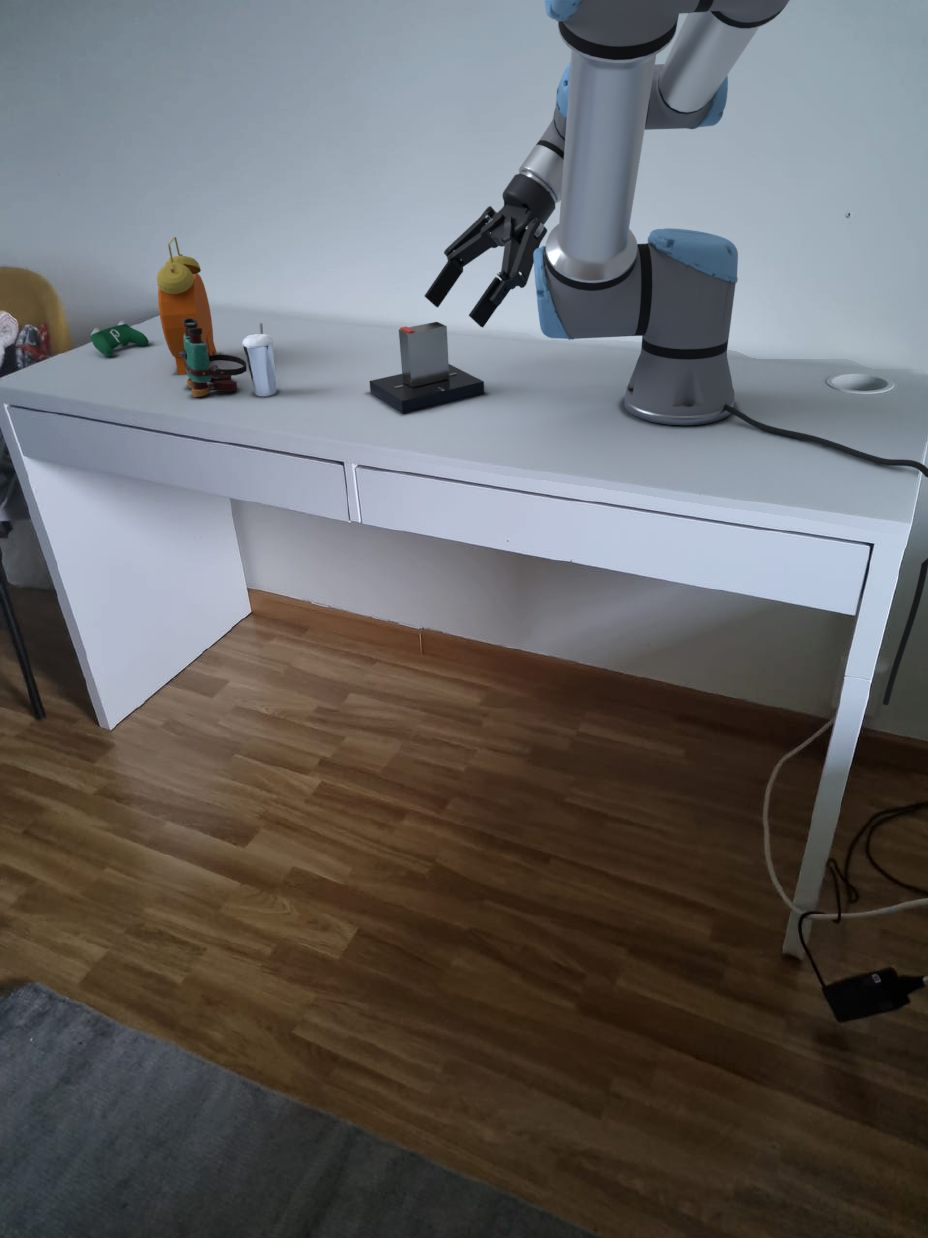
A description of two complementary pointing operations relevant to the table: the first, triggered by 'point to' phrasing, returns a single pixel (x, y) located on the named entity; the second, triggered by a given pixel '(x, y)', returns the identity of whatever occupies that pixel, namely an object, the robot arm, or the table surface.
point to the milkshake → (261, 362)
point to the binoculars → (206, 363)
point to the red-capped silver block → (424, 354)
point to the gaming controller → (116, 338)
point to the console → (426, 391)
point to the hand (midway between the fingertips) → (452, 311)
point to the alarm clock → (183, 304)
